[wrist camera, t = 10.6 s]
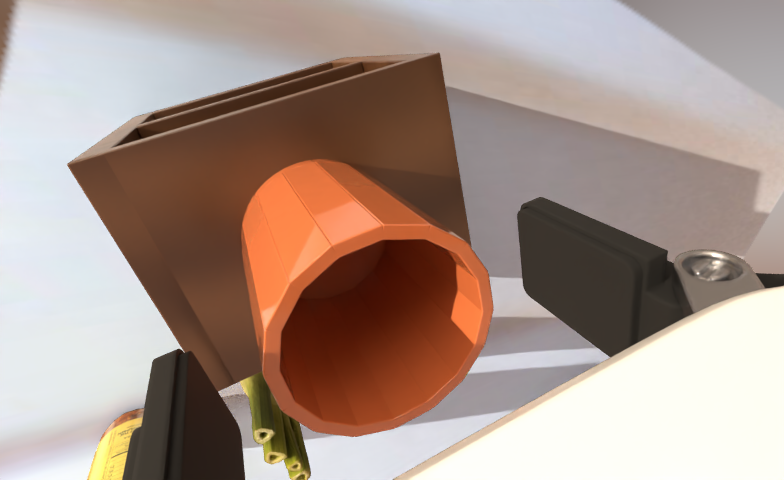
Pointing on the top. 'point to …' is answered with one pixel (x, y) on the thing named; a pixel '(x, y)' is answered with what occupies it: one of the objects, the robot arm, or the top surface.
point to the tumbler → (358, 299)
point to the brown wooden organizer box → (261, 181)
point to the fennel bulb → (276, 429)
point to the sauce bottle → (115, 447)
